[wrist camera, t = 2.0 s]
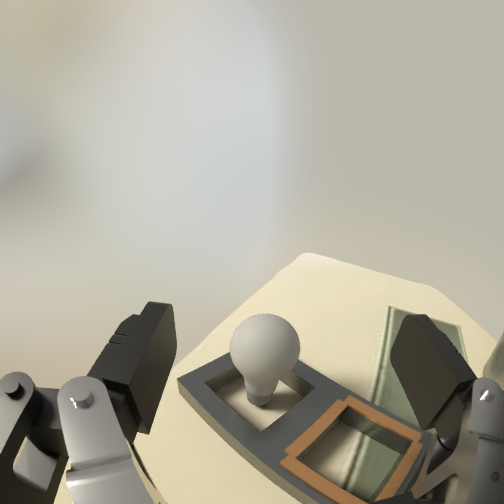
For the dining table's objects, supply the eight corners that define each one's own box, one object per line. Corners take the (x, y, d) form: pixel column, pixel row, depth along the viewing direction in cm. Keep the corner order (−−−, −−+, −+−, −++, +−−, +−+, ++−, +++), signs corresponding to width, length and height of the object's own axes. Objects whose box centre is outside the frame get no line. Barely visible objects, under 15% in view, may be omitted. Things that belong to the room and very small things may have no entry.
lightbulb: (285, 426, 23) (306, 348, 19) (224, 418, 24) (222, 338, 19) (288, 383, 29) (304, 304, 24) (235, 377, 29) (237, 296, 25)
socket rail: (259, 349, 34) (260, 333, 33) (422, 447, 18) (435, 433, 17) (179, 393, 26) (176, 376, 25) (362, 538, 10) (376, 533, 9)
